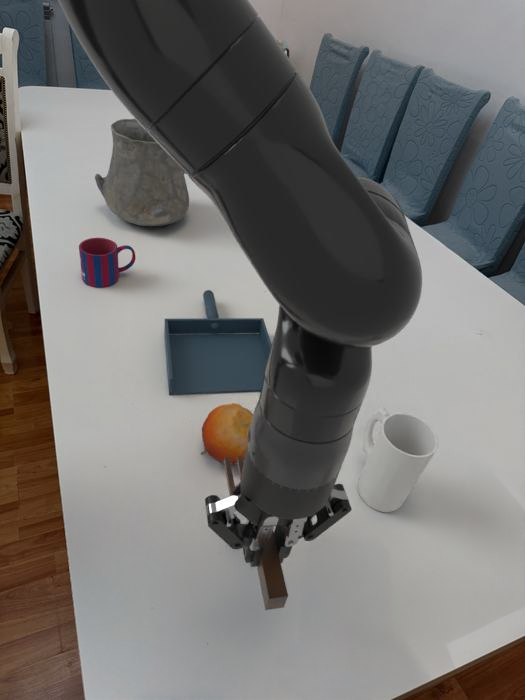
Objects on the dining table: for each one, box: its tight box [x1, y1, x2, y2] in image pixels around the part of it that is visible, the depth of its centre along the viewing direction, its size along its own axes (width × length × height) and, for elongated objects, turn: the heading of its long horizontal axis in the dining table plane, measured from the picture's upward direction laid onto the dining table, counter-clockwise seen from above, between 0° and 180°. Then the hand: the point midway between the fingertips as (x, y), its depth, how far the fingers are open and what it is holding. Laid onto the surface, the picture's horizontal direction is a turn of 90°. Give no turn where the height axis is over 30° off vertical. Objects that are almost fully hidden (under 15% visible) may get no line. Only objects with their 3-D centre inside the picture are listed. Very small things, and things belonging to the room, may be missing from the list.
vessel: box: [94, 118, 190, 227], centre depth 110 cm, size 22×22×20 cm
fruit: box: [200, 403, 253, 465], centre depth 66 cm, size 8×8×8 cm
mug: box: [357, 406, 439, 513], centre depth 64 cm, size 10×7×12 cm, turn 23°
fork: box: [223, 456, 289, 611], centre depth 51 cm, size 16×5×2 cm, turn 11°
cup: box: [78, 237, 136, 288], centre depth 93 cm, size 7×10×7 cm
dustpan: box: [163, 289, 272, 396], centre depth 84 cm, size 24×17×3 cm
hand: (264, 556), depth 49 cm, fingers closed on fork, 2 cm apart
